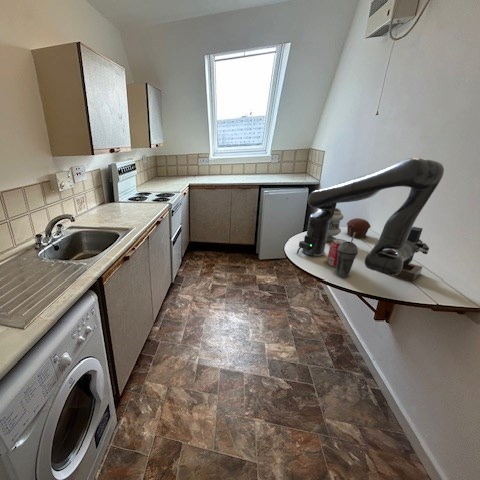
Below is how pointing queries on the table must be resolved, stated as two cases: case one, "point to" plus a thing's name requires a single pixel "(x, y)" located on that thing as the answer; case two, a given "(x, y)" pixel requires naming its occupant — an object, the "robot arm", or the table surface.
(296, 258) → the table surface
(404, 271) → the frame
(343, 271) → the beverage cup
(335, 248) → the soda can
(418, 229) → the dark gray rectangular block
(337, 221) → the apothecary jar
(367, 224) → the muffin
